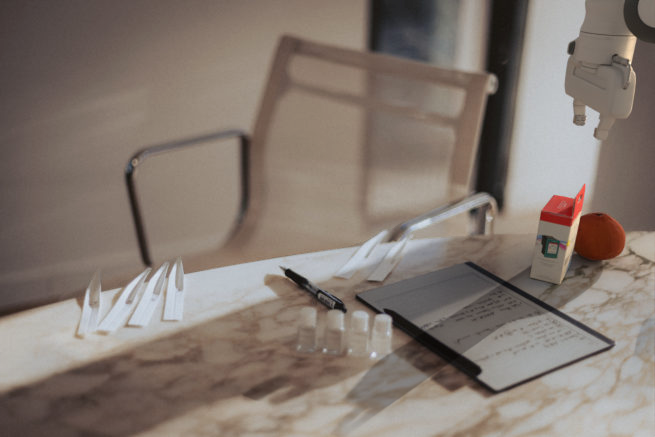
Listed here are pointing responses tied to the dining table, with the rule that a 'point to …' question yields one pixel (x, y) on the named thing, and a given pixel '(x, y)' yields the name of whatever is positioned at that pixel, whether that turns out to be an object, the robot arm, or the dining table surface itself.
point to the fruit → (599, 237)
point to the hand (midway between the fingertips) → (588, 131)
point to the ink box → (556, 237)
